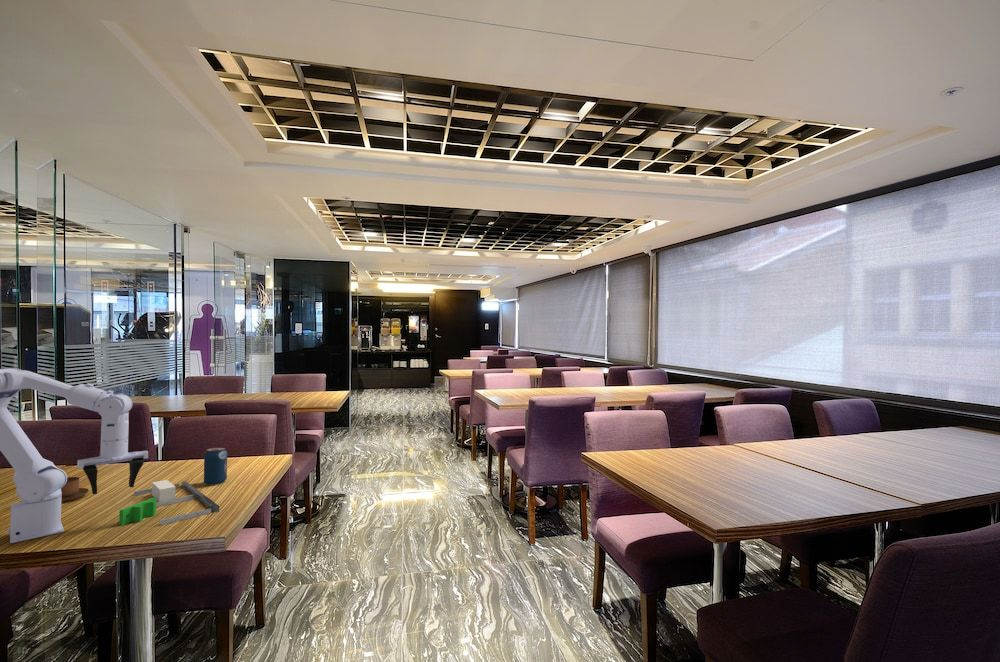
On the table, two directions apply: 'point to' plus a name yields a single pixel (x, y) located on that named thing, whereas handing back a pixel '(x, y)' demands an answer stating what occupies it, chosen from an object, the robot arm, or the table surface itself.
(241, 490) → the table surface
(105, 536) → the table surface
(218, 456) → the soda can
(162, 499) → the seated block
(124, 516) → the pipe clamp
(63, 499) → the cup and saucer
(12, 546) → the table surface
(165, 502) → the grey pronged frame
